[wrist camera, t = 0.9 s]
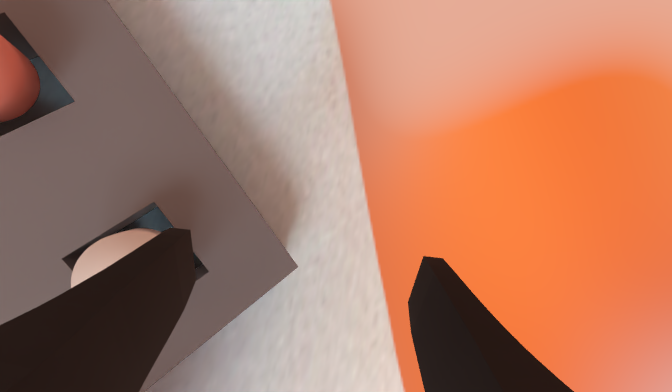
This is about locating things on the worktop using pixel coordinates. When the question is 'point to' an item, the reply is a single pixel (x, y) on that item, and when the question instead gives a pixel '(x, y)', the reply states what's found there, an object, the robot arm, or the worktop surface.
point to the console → (119, 176)
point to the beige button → (109, 252)
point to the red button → (16, 82)
